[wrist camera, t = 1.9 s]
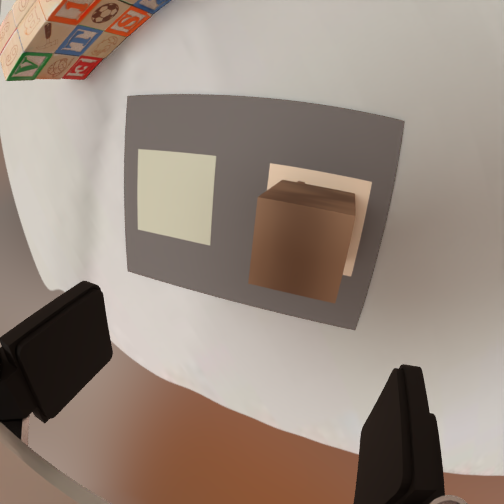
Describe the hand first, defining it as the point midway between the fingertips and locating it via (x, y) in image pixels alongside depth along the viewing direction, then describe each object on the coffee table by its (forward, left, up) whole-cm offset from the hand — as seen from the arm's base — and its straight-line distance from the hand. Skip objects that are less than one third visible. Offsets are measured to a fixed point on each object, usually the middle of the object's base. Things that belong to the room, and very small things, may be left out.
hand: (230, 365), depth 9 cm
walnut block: (0, 0, -15) cm, 15 cm away
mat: (+5, 0, -15) cm, 16 cm away
